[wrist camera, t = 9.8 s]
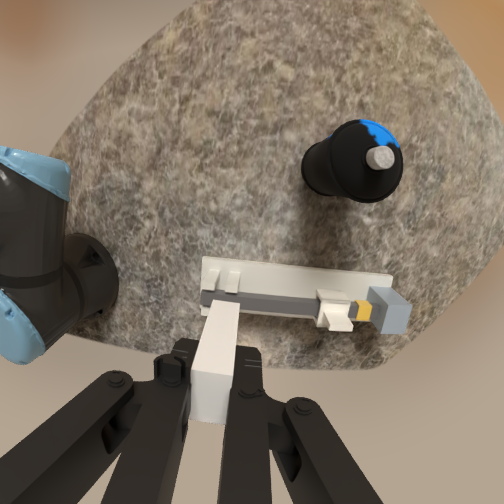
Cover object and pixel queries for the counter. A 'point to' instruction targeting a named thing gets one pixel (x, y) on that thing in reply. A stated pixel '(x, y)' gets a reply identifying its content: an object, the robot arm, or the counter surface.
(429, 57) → the counter surface
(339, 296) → the sleeve
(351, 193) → the aerosol can
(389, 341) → the counter surface
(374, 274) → the grey rod on board
